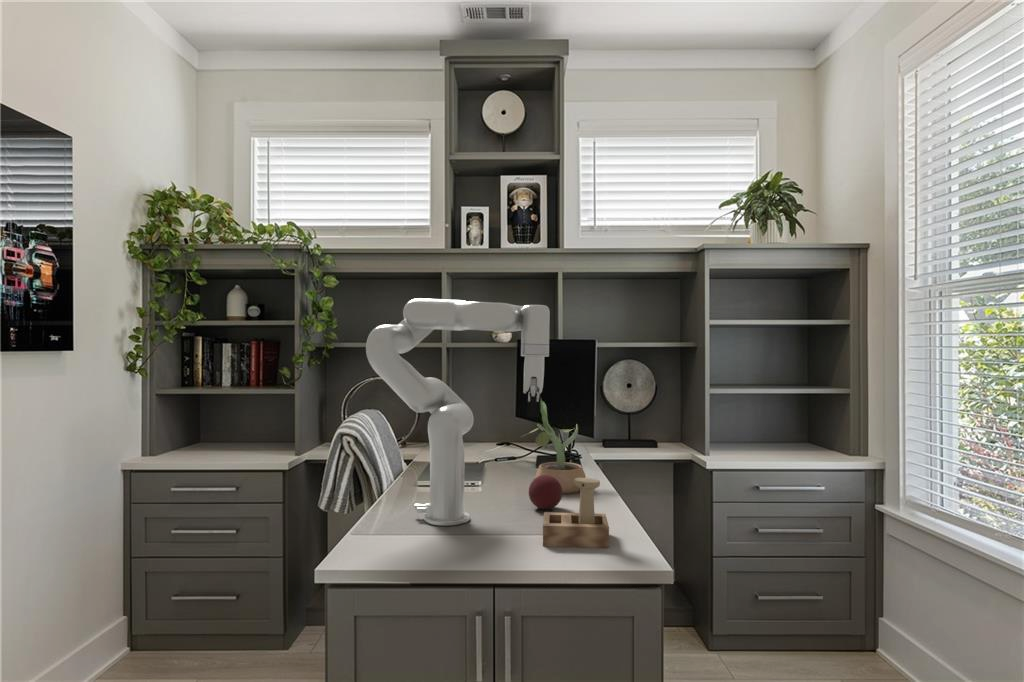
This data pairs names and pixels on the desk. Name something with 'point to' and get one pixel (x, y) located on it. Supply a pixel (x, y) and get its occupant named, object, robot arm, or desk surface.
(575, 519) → the wooden shelf
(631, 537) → the desk surface
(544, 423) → the potted plant
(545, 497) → the decorative ball
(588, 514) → the handle
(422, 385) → the robot arm
